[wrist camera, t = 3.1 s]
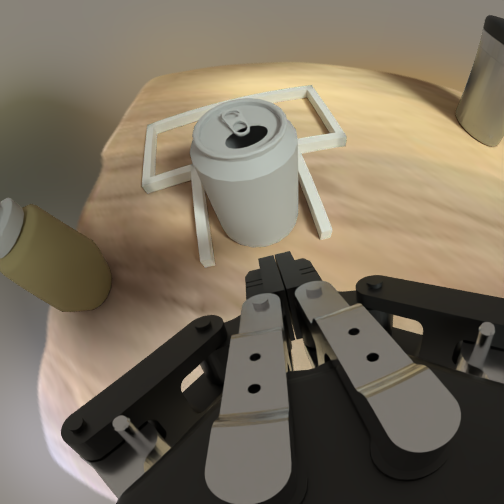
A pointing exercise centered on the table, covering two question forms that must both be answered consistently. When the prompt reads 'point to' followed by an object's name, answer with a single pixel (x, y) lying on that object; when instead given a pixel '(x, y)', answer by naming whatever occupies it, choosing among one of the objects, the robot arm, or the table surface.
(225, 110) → the can
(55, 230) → the squeeze bottle
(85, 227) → the table surface
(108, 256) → the table surface
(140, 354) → the table surface
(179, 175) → the t outline
